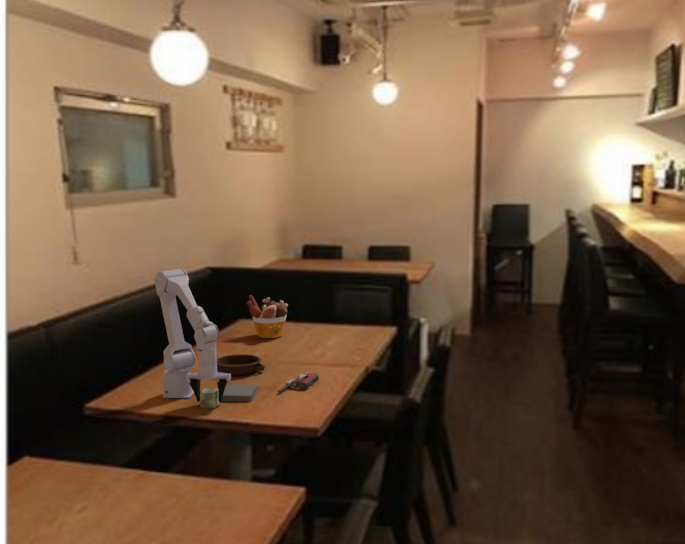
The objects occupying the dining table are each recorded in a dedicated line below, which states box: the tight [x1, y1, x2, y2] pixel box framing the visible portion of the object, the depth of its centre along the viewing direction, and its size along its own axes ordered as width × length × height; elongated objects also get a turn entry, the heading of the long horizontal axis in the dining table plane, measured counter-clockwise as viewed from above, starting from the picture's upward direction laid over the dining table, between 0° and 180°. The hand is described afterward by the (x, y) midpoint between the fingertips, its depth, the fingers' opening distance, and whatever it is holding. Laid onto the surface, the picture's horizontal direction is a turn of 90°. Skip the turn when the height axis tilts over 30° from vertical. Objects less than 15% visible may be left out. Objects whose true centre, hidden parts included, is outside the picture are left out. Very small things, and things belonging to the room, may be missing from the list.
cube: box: [199, 387, 220, 409], centre depth 222 cm, size 5×5×5 cm
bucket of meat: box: [246, 294, 289, 339], centre depth 317 cm, size 20×16×20 cm
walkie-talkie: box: [277, 372, 320, 394], centre depth 240 cm, size 9×4×20 cm
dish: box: [217, 353, 266, 377], centre depth 261 cm, size 18×22×5 cm
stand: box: [222, 383, 259, 402], centre depth 232 cm, size 12×12×2 cm
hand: (209, 400), depth 223 cm, fingers open, 7 cm apart
